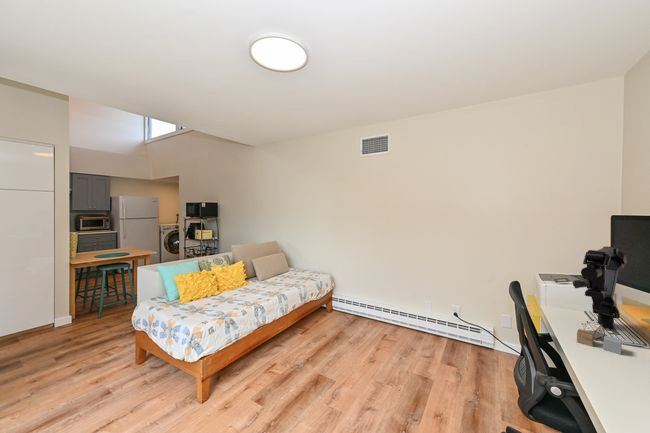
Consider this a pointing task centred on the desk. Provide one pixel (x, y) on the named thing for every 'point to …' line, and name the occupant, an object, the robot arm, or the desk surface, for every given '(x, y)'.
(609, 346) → the slate block
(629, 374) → the desk surface
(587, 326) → the game die
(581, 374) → the desk surface
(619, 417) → the desk surface
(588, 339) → the walnut block
